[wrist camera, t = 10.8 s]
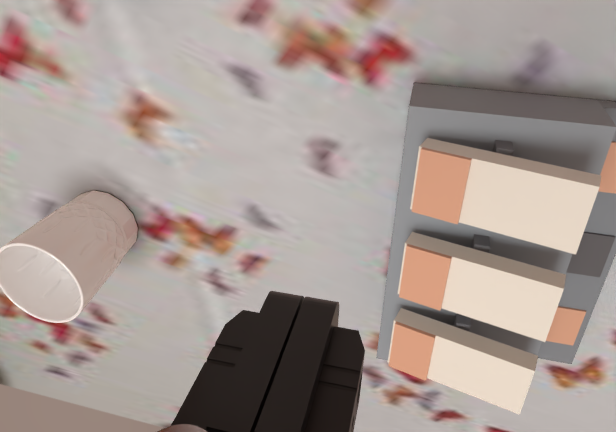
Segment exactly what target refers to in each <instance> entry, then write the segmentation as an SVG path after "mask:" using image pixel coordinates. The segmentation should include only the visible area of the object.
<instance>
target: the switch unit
mask: <svg viewBox="0 0 616 432" xmlns="http://www.w3.org/2000/svg"><path fill="white" fill-rule="evenodd" d="M427 138H431V139H435V140H440V141H445V142H449V143H454V144H459V145H463V146H468V147H472V148H477V149H482V150H486V151H491V152H495V153H500V154H505V155H509V156H514V157H519V158H523V159H528V160H532V161H537V162H542V163H546V164H551V165H555V166H560V167H565V168H569V169H574V170H579V171H583V172H588V173H592V174H597V175H601V182H600V187H599V190H598V193H597V196H596V199H595V202H594V205H593V207H592V210H591V213H590V216H589V219H588V222H587V224H586V227H585V230H584V233H583V236H582V239H581V241H580V244H579V247H578V250H577V253H576V254H572V253H568V252H565V251H561V250H557V249H554V248H550V247H547V246H543V245H539V244H536V243H532V242H528V241H525V240H521V239H517V238H514V237H510V236H507V235H503V234H499V233H496V232H492V231H488V230H485V229H481V228H478V227H474V226H470V225H467V224H463V223H458V225H457V224H454V223H450V222H447V221H443V220H439V219H436V218H432V217H429V216H425V215H421V214H418V213H414V212H412V209H410V206H411V199H412V193H413V186H414V179H415V172H416V165H417V158H418V151H419V146H420V145H421V144H422V143H423V142H424V141H425V140H426V139H427ZM412 232H415V233H419V234H422V235H426V236H429V237H433V238H436V239H440V240H444V241H447V242H451V243H454V244H458V245H462V246H465V247H469V248H472V249H476V250H480V251H483V252H487V253H490V254H494V255H497V256H501V257H505V258H508V259H512V260H515V261H519V262H523V263H526V264H530V265H533V266H537V267H541V268H544V269H548V270H551V271H555V272H558V273H562V274H566V279H565V286H564V290H563V293H562V296H561V299H560V302H559V304H558V307H557V310H556V313H555V316H554V319H553V321H552V324H551V327H550V330H549V333H548V336H547V338H546V341H545V342H543V341H540V340H537V339H534V338H531V337H528V336H525V335H521V334H518V333H515V332H512V331H509V330H506V329H503V328H500V327H497V326H494V325H491V324H488V323H485V322H482V321H479V320H476V319H473V318H470V317H467V316H464V315H461V314H458V313H454V312H451V311H448V310H445V309H442V308H441V310H440V311H439V310H436V309H433V308H430V307H427V306H424V305H421V304H418V303H415V302H412V301H409V300H406V299H403V298H400V297H399V294H398V287H399V281H400V274H401V267H402V260H403V253H404V246H405V242H406V241H407V239H408V238H409V236H410V234H411V233H412ZM615 254H616V101H605V100H594V99H583V98H573V97H562V96H551V95H541V94H530V93H519V92H509V91H498V90H487V89H476V88H466V87H455V86H444V85H434V84H423V83H414V85H413V90H412V95H411V99H410V104H409V110H408V118H407V126H406V134H405V141H404V149H403V157H402V165H401V172H400V180H399V188H398V195H397V203H396V211H395V219H394V226H393V234H392V242H391V250H390V257H389V265H388V273H387V280H386V288H385V296H384V304H383V311H382V319H381V327H380V334H379V342H378V350H377V358H378V359H383V360H388V357H389V350H390V343H391V336H392V329H393V322H394V319H395V317H396V316H397V314H398V312H399V311H400V309H401V308H403V309H406V310H408V311H411V312H414V313H417V314H420V315H423V316H426V317H428V318H431V319H434V320H437V321H440V322H443V323H446V324H448V325H451V326H454V327H457V328H460V329H463V330H466V331H469V332H471V333H474V334H477V335H480V336H483V337H486V338H489V339H491V340H494V341H497V342H500V343H503V344H506V345H509V346H512V347H514V348H517V349H520V350H523V351H526V352H529V353H532V354H534V355H537V356H538V358H540V359H546V360H551V361H557V362H563V363H568V364H572V362H573V359H574V357H575V354H576V352H577V349H578V347H579V344H580V342H581V339H582V337H583V334H584V332H585V329H586V327H587V324H588V322H589V319H590V317H591V314H592V312H593V309H594V307H595V304H596V302H597V299H598V297H599V294H600V292H601V289H602V287H603V284H604V282H605V279H606V277H607V274H608V272H609V269H610V267H611V264H612V262H613V259H614V257H615Z"/></svg>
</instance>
